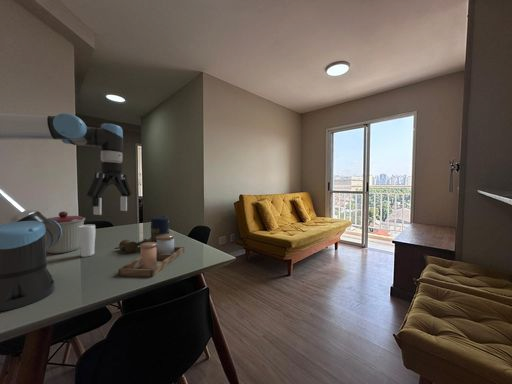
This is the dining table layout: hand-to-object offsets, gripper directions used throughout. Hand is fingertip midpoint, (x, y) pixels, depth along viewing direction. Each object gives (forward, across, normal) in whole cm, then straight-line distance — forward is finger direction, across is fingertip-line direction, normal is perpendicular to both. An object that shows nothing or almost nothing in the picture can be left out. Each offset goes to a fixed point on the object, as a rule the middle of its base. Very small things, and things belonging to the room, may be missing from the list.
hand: (111, 212), depth 86 cm
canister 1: (+25, +18, +43) cm, 53 cm away
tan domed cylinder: (+23, +3, -15) cm, 28 cm away
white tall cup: (+24, +13, +24) cm, 36 cm away
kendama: (+24, +24, +7) cm, 35 cm away
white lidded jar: (+23, +17, -15) cm, 32 cm away
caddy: (+23, +9, -15) cm, 29 cm away
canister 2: (+23, +30, -4) cm, 38 cm away
